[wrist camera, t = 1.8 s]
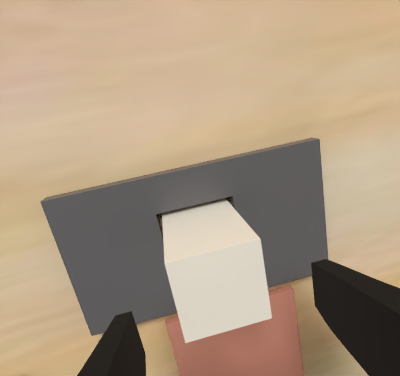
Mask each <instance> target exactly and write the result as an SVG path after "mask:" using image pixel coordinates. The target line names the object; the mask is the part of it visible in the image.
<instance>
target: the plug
mask: <svg viewBox="0 0 400 376" xmlns="http://www.w3.org/2000/svg"><path fill="white" fill-rule="evenodd" d="M162 223H163V243H164V263H165V267H166V271H167V275H168V279H169V283H170V286H171V290H172V294H173V298H174V302H175V305H176V309H177V313H178V317H179V321H180V324H181V328H182V332H183V336H184V340H185V343H188V342H191V341H195V340H198V339H202V338H205V337H209V336H212V335H216V334H219V333H223V332H226V331H230V330H233V329H237V328H240V327H244V326H247V325H250V324H254V323H257V322H261V321H264V320H268V319H271V318H272V314H271V307H270V300H269V293H268V286H267V280H266V273H265V266H264V259H263V252H262V245H261V239H260V238H259V237H258V235H257V234H256V233H255V232H254V231H253V230H252V228H251V227H250V226H249V225H248V224H247V223H246V222H245V220H244V219H243V218H242V217H241V216H240V215H239V213H238V212H237V211H236V210H235V209H234V208H233V206H232V205H231V204H230V203H229V202H228V201H227V200H226V198H223V199H219V200H214V201H210V202H206V203H202V204H198V205H193V206H189V207H185V208H181V209H176V210H172V211H168V212H164V213H162Z"/></svg>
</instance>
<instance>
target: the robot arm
mask: <svg viewBox="0 0 400 376" xmlns="http://www.w3.org/2000/svg"><path fill="white" fill-rule="evenodd" d="M311 268H312V278H313V289H314V300H315V306H316V308H317V309H318V311H319V312H320V314H321V316H322V317H323V319H324V320H325V322H326V323H327V325H328V326H329V328H330V329H331V330H332V332H333V333H334V334H335V335H336V337H337V338H338V339H339V340H340V341H341V343H342V344H343V345H344V346H345V348H346V349H347V350H348V351H349V352H350V354H351V355H352V356H353V357H354V358H355V360H356V361H357V362H358V363H359V364H360V366H361V367H362V368H363V369H364V370H365V371H366V373H367V374H368V375H369V376H400V288H397V287H395V286H392V285H389V284H387V283H384V282H382V281H379V280H376V279H374V278H371V277H369V276H367V275H364V274H362V273H359V272H357V271H354V270H352V269H350V268H347V267H345V266H342V265H340V264H337V263H335V262H332V261H330V260H327V259H324V260H320V261H316V262H312V263H311ZM77 376H146V362H145V351H144V348H143V345H142V342H141V339H140V336H139V332H138V329H137V326H136V323H135V320H134V317H133V314H132V311H130V312H126V313H122V314H119V315H115V317H114V318H113V320H112V321H111V323H110V325H109V326H108V328H107V330H106V331H105V333H104V334H103V336H102V338H101V339H100V341H99V343H98V344H97V346H96V347H95V349H94V351H93V352H92V354H91V355H90V357H89V358H88V360H87V361H86V363H85V365H84V366H83V368H82V369H81V371H80V372H79V374H78V375H77Z"/></svg>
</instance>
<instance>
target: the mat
mask: <svg viewBox="0 0 400 376" xmlns="http://www.w3.org/2000/svg"><path fill="white" fill-rule="evenodd" d="M268 293H269V300H270V307H271V314H272V318H271V319H268V320H264V321H261V322H257V323H254V324H250V325H247V326H244V327H240V328H237V329H233V330H230V331H226V332H223V333H219V334H216V335H212V336H209V337H205V338H202V339H198V340H195V341H191V342H188V343H185V340H184V336H183V332H182V328H181V324H180V321H179V317H175V318H171V319H168V320H166V326H167V329H168V333H169V336H170V340H171V343H172V347H173V351H174V354H175V358H176V361H177V365H178V368H179V372H180V375H181V376H303V368H302V359H301V351H300V343H299V334H298V326H297V317H296V309H295V300H294V292H293V288H292V287H291V285H290V286H287V287H283V288H279V289H276V290H272V291H269V292H268Z"/></svg>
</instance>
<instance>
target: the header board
mask: <svg viewBox="0 0 400 376" xmlns="http://www.w3.org/2000/svg"><path fill="white" fill-rule="evenodd" d="M226 197H230V200H231V205H232V206H233V208H234V209H235V210H236V211H237V212H238V213H239V215H240V216H241V217H242V218H243V219H244V220H245V222H246V223H247V224H248V225H249V226H250V227H251V228H252V230H253V231H254V232H255V233H256V234H257V235H258V237H259V238H260V239H261V245H262V252H263V259H264V266H265V273H266V280H267V286H268V287H271V286H274V285H278V284H282V283H285V282H289V281H292V280H296V279H300V278H303V277H307V276H311V275H312V268H311V263H312V262H316V261H320V260H324V259H327V260H328V250H327V236H326V222H325V209H324V195H323V181H322V168H321V154H320V140H319V139H316V138H310V139H305V140H301V141H296V142H292V143H287V144H283V145H279V146H274V147H270V148H265V149H261V150H256V151H252V152H247V153H243V154H238V155H234V156H229V157H225V158H221V159H216V160H212V161H207V162H203V163H198V164H194V165H189V166H185V167H180V168H176V169H171V170H167V171H163V172H158V173H154V174H149V175H145V176H140V177H136V178H131V179H127V180H122V181H118V182H113V183H109V184H105V185H100V186H96V187H91V188H87V189H82V190H78V191H73V192H69V193H64V194H60V195H55V196H51V197H47V198H45V199H44V200H42V201H41V204H42V207H43V210H44V212H45V215H46V217H47V220H48V223H49V225H50V228H51V231H52V233H53V236H54V238H55V241H56V244H57V246H58V249H59V251H60V254H61V257H62V259H63V262H64V265H65V267H66V270H67V272H68V275H69V278H70V280H71V283H72V285H73V288H74V291H75V293H76V296H77V299H78V301H79V304H80V306H81V309H82V312H83V314H84V317H85V319H86V322H87V325H88V327H89V330H90V333H91V335H92V336H93V335H97V334H100V333H104V332H105V331H106V330H107V328H108V326H109V325H110V323H111V321H112V320H113V318H114V317H115V315H119V314H122V313H126V312H130V311H132V314H133V317H134V320H135V323H140V322H144V321H147V320H151V319H155V318H158V317H162V316H165V315H169V314H173V313H176V312H177V309H176V305H175V302H174V298H173V294H172V290H171V286H170V283H169V279H168V275H167V271H166V267H165V263H164V243H163V235H162V231H161V228H160V224H159V220H158V216H157V214H159V213H164V212H168V211H172V210H176V209H180V208H185V207H189V206H193V205H197V204H201V203H206V202H210V201H214V200H218V199H222V198H226Z"/></svg>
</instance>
